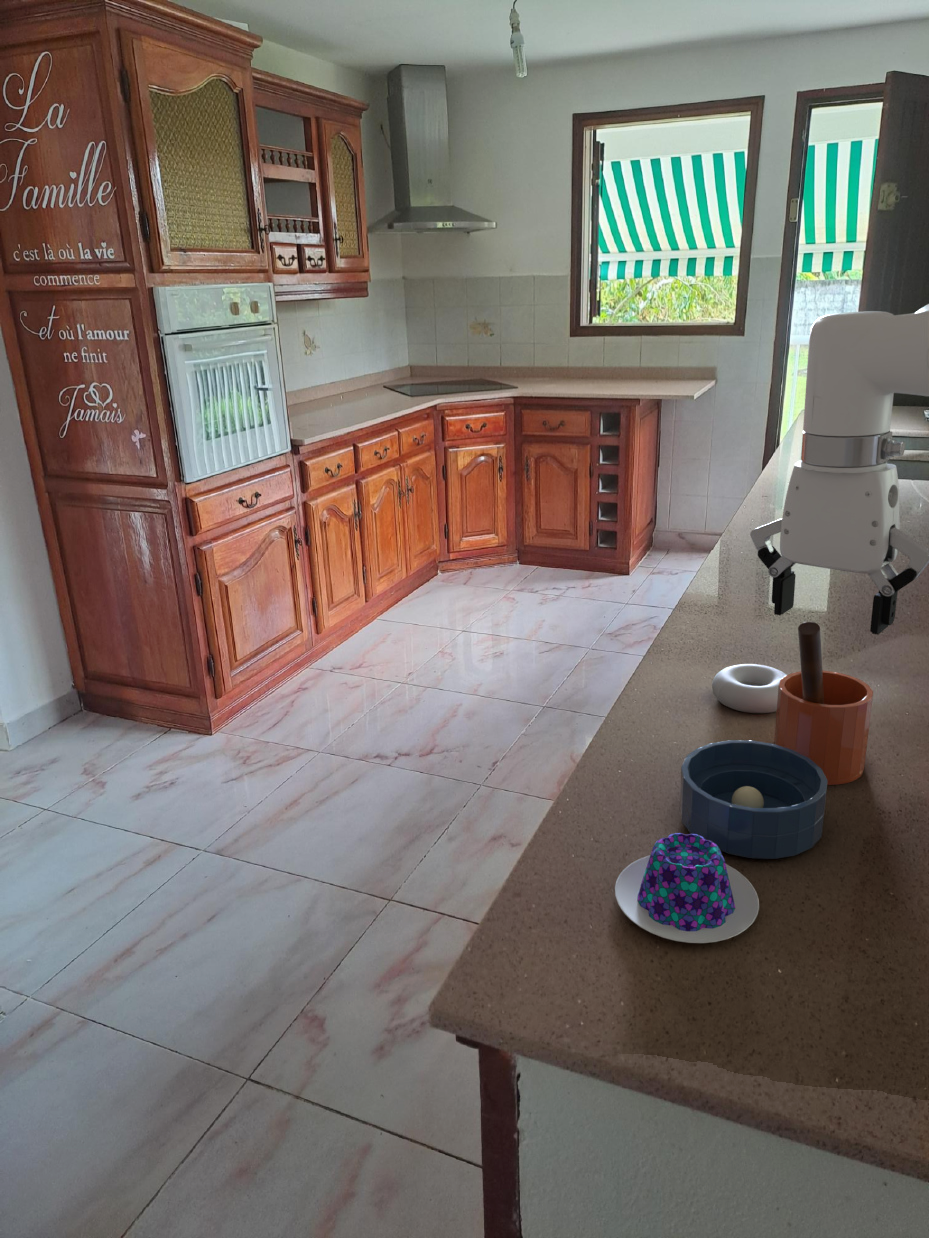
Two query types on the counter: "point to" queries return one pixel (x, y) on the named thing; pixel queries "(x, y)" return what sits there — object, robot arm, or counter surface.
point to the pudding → (687, 892)
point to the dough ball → (748, 797)
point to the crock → (826, 724)
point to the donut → (748, 687)
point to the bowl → (777, 775)
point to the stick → (811, 662)
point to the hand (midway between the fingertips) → (829, 620)
